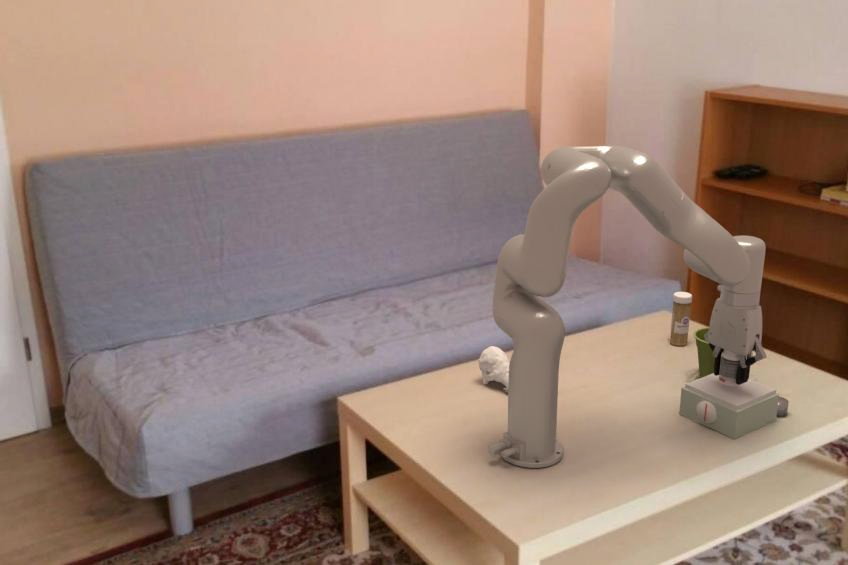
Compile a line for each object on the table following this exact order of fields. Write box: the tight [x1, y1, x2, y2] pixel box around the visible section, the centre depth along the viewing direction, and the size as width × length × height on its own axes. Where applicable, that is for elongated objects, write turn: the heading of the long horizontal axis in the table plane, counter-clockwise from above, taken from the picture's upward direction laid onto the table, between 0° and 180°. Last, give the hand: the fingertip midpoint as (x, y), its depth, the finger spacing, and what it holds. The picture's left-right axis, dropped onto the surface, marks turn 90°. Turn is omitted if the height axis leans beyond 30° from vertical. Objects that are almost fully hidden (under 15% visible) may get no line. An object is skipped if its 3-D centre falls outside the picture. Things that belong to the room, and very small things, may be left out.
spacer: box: [776, 396, 790, 419], centre depth 190 cm, size 4×4×3 cm
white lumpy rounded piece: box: [477, 345, 510, 393], centre depth 203 cm, size 6×8×12 cm
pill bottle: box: [719, 349, 741, 386], centre depth 185 cm, size 5×5×8 cm
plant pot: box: [692, 326, 715, 379], centre depth 204 cm, size 12×12×11 cm
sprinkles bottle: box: [669, 291, 693, 347], centre depth 225 cm, size 5×5×14 cm
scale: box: [679, 373, 780, 439], centre depth 188 cm, size 15×14×7 cm
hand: (730, 377), depth 186 cm, fingers closed on pill bottle, 4 cm apart
